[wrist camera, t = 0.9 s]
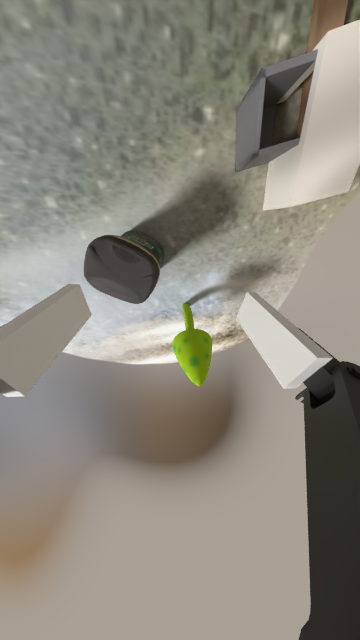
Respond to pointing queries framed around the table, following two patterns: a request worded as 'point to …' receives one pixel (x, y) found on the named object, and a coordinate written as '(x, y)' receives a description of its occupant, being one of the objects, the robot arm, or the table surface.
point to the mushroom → (193, 349)
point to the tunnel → (306, 122)
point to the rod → (324, 18)
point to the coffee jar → (124, 265)
